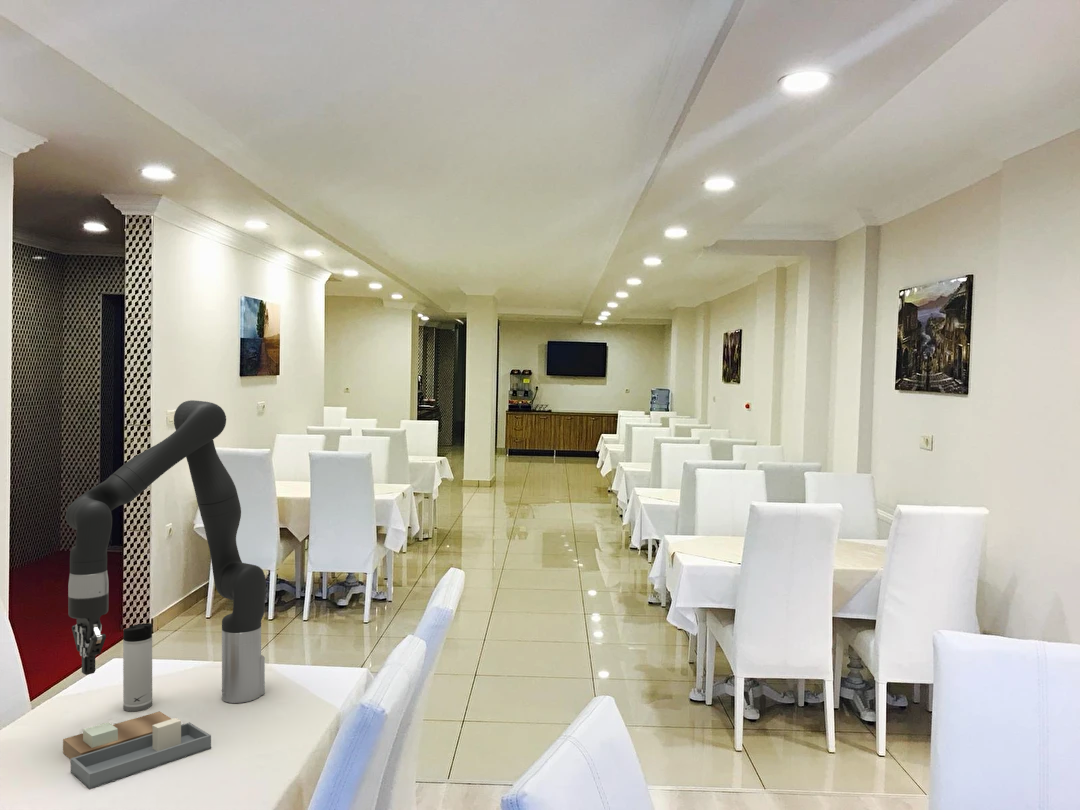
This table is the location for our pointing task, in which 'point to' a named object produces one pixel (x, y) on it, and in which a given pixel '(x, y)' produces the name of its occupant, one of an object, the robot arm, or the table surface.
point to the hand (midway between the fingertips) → (88, 673)
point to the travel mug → (137, 667)
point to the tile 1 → (100, 734)
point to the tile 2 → (166, 734)
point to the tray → (135, 757)
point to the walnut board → (125, 733)
